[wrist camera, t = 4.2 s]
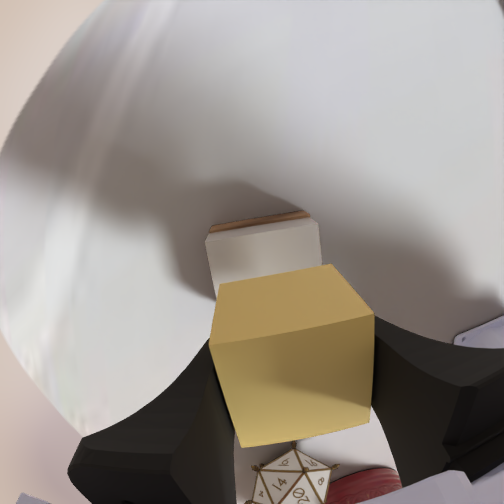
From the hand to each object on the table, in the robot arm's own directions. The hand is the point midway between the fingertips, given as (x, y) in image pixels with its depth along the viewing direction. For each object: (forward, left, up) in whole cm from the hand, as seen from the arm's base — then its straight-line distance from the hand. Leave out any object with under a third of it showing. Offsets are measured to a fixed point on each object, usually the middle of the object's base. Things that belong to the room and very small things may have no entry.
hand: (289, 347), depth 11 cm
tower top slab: (0, 0, -8) cm, 8 cm away
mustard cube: (0, 0, -2) cm, 2 cm away
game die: (+1, +21, -10) cm, 23 cm away
